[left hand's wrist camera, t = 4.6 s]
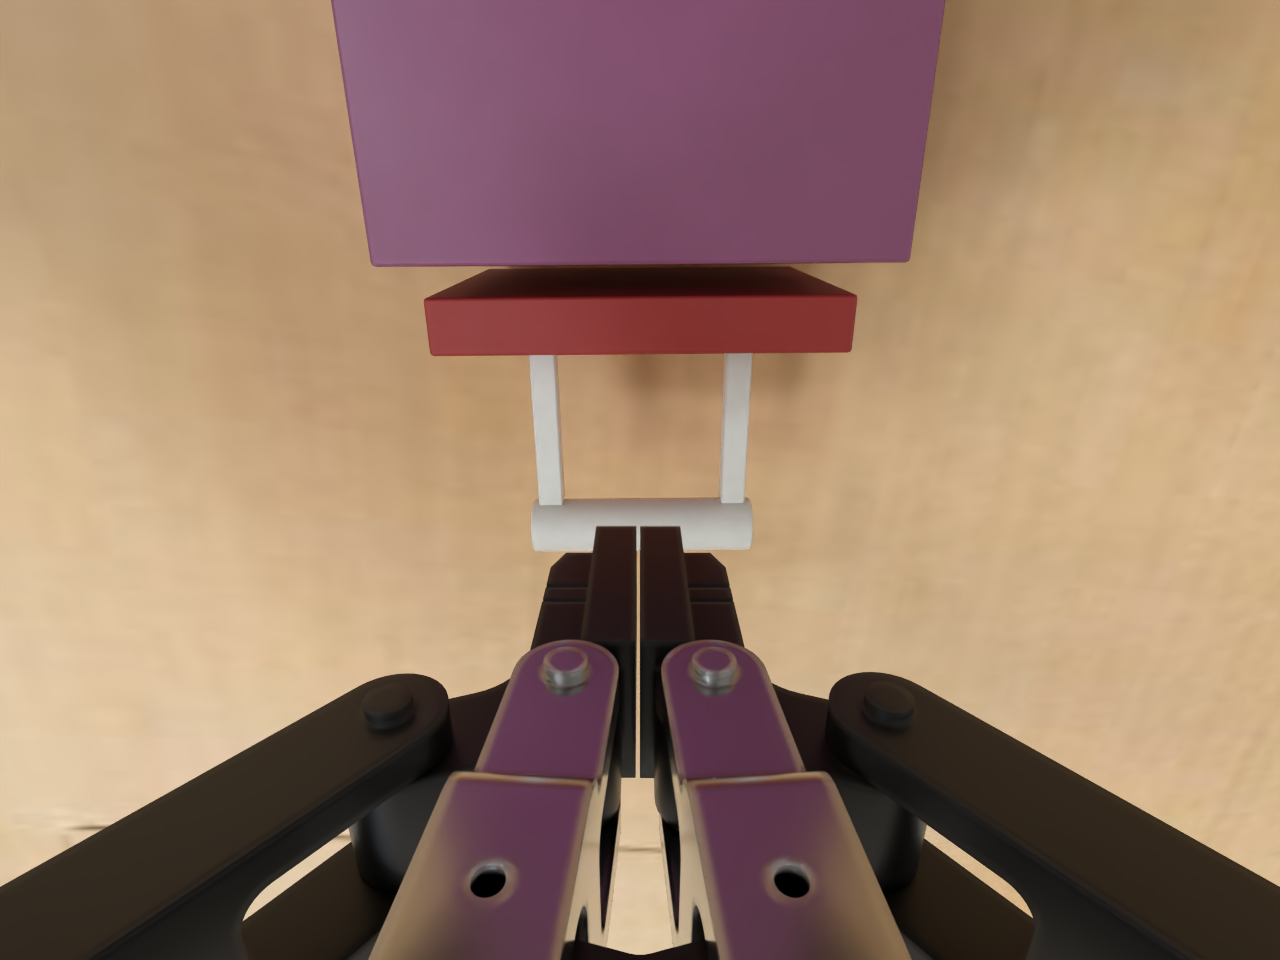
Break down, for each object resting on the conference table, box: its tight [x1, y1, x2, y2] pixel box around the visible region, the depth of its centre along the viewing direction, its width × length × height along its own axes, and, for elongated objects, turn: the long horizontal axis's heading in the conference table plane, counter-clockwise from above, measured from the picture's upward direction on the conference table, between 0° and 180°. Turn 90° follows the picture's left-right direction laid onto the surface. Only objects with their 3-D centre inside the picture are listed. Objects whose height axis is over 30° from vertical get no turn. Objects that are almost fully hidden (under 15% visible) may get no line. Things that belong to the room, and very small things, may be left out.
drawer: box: [424, 267, 857, 551], centre depth 15 cm, size 22×9×6 cm, turn 0°
